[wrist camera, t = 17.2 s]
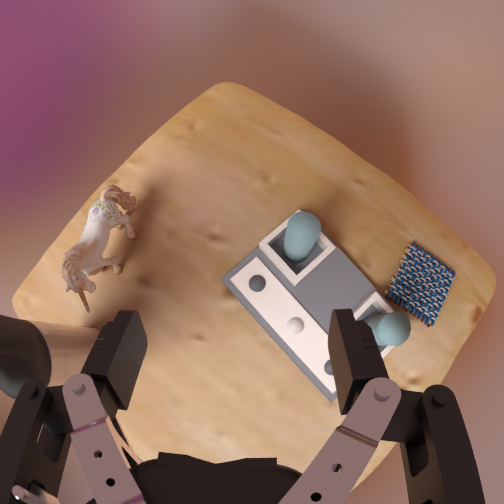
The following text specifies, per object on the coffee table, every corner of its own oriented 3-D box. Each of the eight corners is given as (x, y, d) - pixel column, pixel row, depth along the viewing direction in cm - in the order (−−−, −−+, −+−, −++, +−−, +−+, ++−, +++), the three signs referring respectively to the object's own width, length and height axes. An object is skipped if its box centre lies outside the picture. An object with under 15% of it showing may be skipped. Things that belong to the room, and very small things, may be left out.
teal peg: (367, 350, 42) (394, 353, 32) (350, 330, 43) (373, 328, 33) (386, 331, 42) (416, 328, 33) (369, 311, 43) (396, 304, 34)
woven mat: (453, 274, 45) (459, 271, 43) (429, 329, 43) (435, 329, 41) (408, 240, 47) (413, 236, 45) (379, 296, 45) (384, 294, 43)
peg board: (329, 401, 41) (348, 419, 30) (221, 280, 46) (208, 263, 36) (405, 325, 43) (440, 321, 33) (301, 212, 48) (310, 178, 38)
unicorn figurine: (94, 316, 46) (44, 308, 33) (106, 203, 50) (67, 167, 38) (133, 319, 45) (89, 312, 32) (143, 200, 50) (110, 161, 37)
